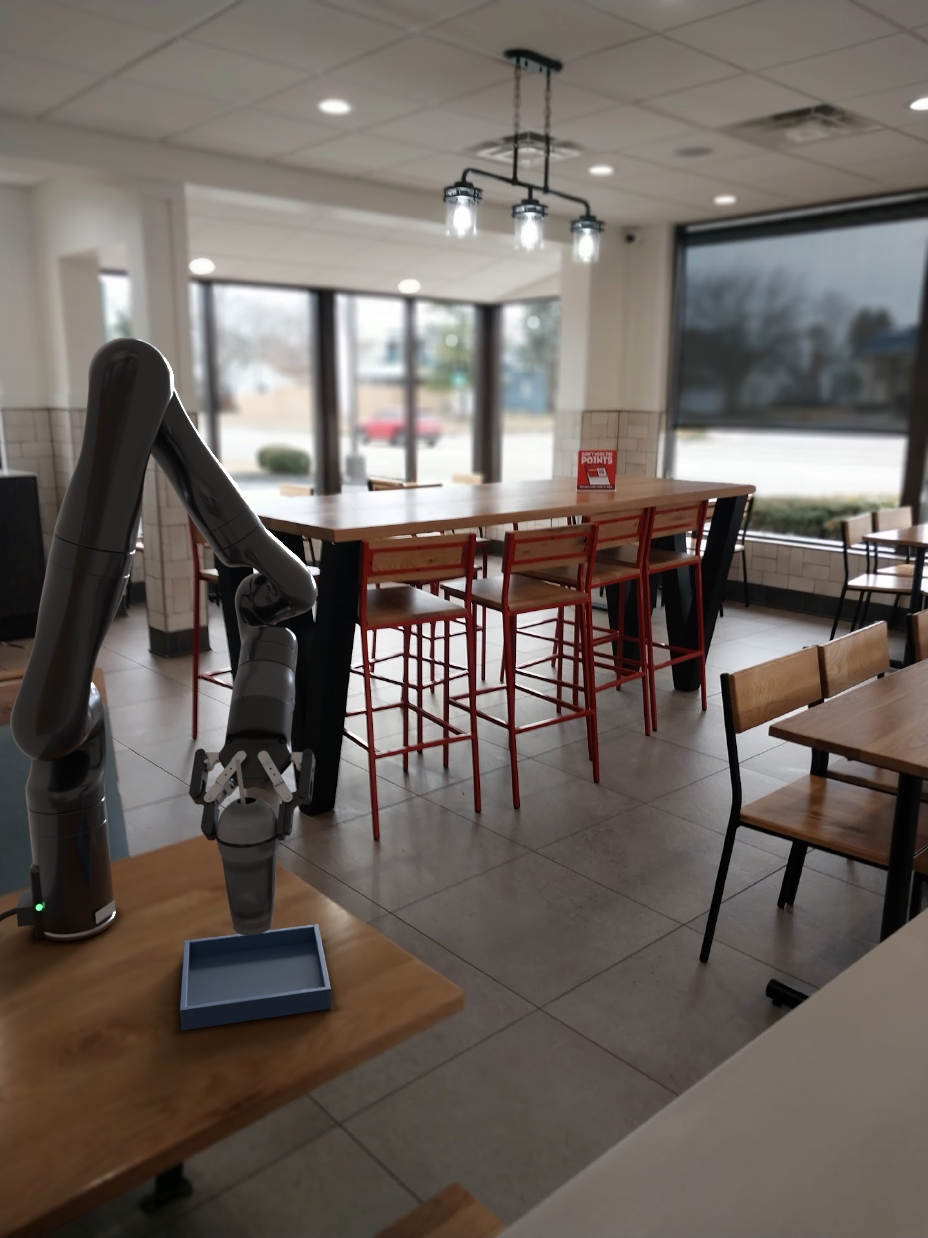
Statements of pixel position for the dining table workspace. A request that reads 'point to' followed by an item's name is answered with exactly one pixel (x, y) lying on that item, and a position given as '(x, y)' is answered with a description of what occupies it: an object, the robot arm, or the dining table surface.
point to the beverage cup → (249, 860)
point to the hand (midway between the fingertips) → (245, 838)
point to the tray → (253, 977)
